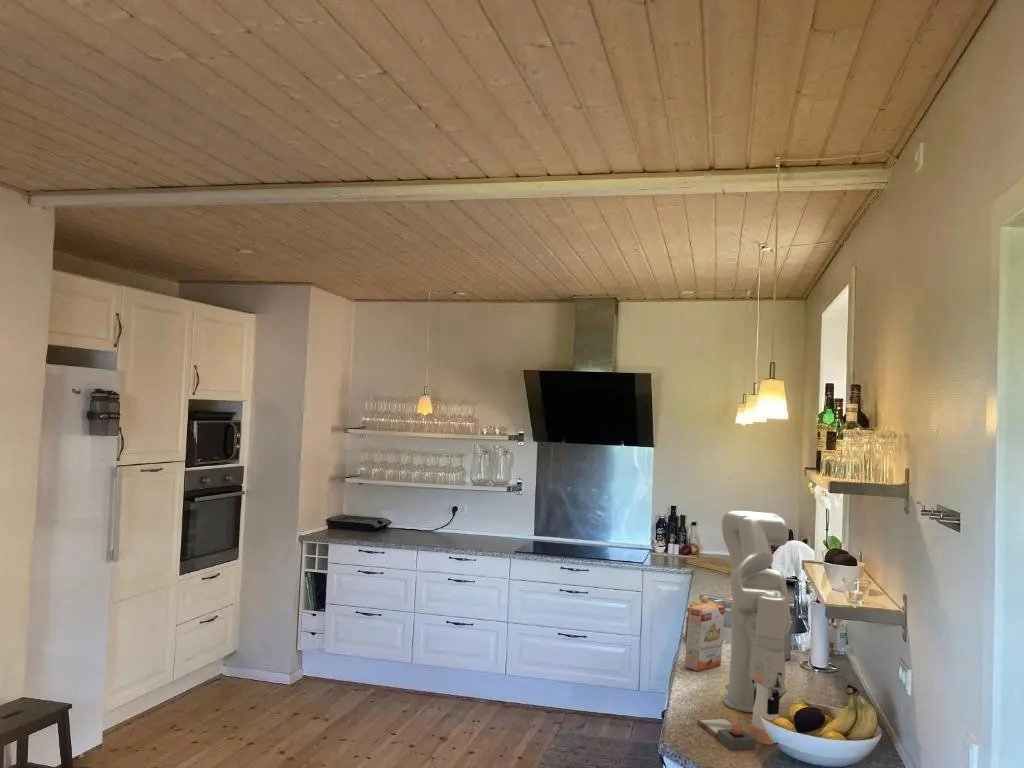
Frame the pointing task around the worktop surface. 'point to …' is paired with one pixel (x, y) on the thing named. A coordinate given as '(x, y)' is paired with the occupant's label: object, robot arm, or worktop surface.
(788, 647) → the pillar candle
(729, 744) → the button housing
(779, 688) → the robot arm
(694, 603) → the canister
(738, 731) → the button
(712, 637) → the cracker box
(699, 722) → the drawing board
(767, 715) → the salt shaker
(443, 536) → the worktop surface
